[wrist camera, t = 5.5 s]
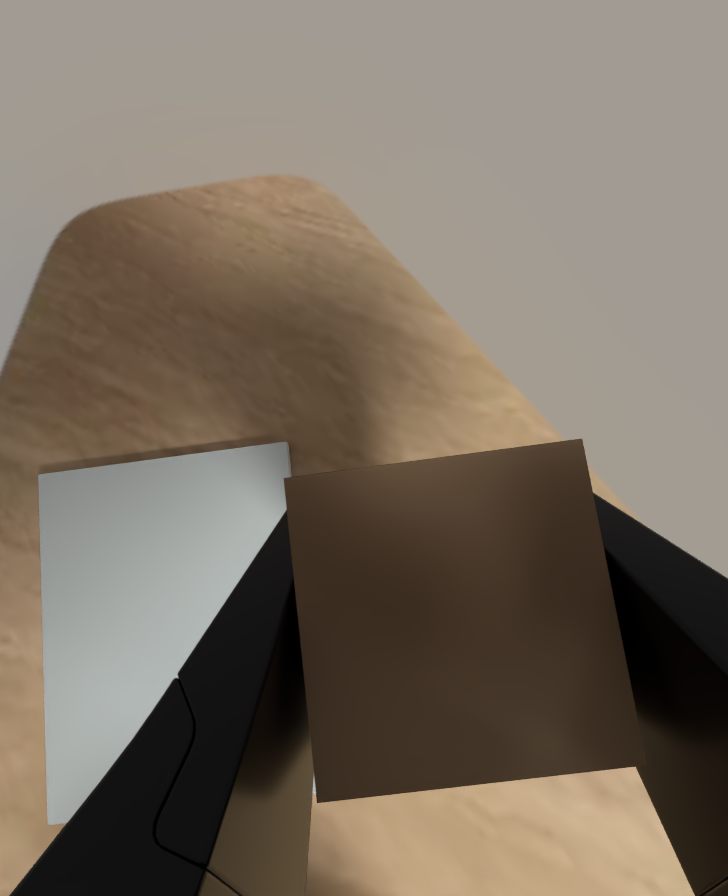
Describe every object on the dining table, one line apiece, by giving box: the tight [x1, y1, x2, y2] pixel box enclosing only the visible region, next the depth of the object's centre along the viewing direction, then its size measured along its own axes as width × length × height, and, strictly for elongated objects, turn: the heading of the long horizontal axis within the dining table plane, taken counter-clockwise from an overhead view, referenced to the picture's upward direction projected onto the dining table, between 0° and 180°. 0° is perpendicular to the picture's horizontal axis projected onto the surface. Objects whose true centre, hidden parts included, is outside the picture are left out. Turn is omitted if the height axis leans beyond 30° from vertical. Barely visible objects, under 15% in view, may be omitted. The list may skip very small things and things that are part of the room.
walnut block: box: [284, 439, 647, 803], centre depth 10 cm, size 4×4×9 cm
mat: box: [38, 442, 316, 825], centre depth 20 cm, size 14×11×1 cm
